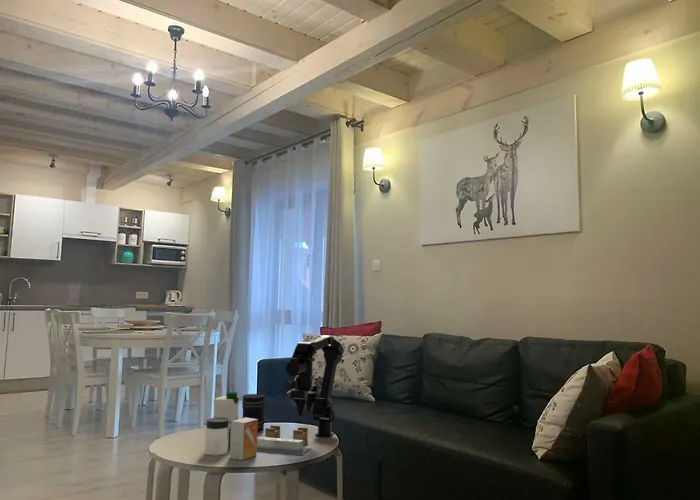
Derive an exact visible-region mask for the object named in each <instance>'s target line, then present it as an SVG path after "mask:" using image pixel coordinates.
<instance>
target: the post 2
mask: <svg viewBox="0 0 700 500" xmlns="http://www.w3.org/2000/svg"><path fill="white" fill-rule="evenodd" d="M292 431H293V432H292V439H295V440H303V444H304V445H305V444H307V443H308V442H309V441H308V437H309V436H308V435H309V433H308V432H309V429H308V427H301V426H300V427H299V426H298V427H297V429H293V430H292ZM306 442H307V443H306Z"/></svg>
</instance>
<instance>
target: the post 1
mask: <svg viewBox="0 0 700 500" xmlns="http://www.w3.org/2000/svg"><path fill="white" fill-rule="evenodd" d="M264 431H265V433H264V437H269V438H281V425H270V427H265V429H264Z"/></svg>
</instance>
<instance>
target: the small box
mask: <svg viewBox="0 0 700 500" xmlns="http://www.w3.org/2000/svg"><path fill="white" fill-rule="evenodd" d="M257 431H258V419H253V418H246V417H245V418H243V417H242V418H238V419H237V420H234V421H231V437H230V447H229V459H234V460H240V461H245V460H246V459H249V458H253V457H255V456H257V454H258V452H257V437H258V432H257Z"/></svg>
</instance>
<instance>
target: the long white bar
mask: <svg viewBox="0 0 700 500" xmlns="http://www.w3.org/2000/svg"><path fill="white" fill-rule="evenodd" d="M257 448H258V449H270V450H282V451H294V452H301V451H302V450H303V448H304V445H303V440H295V439H293V438H281V437H280V438H269V437H265V436H257Z"/></svg>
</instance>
